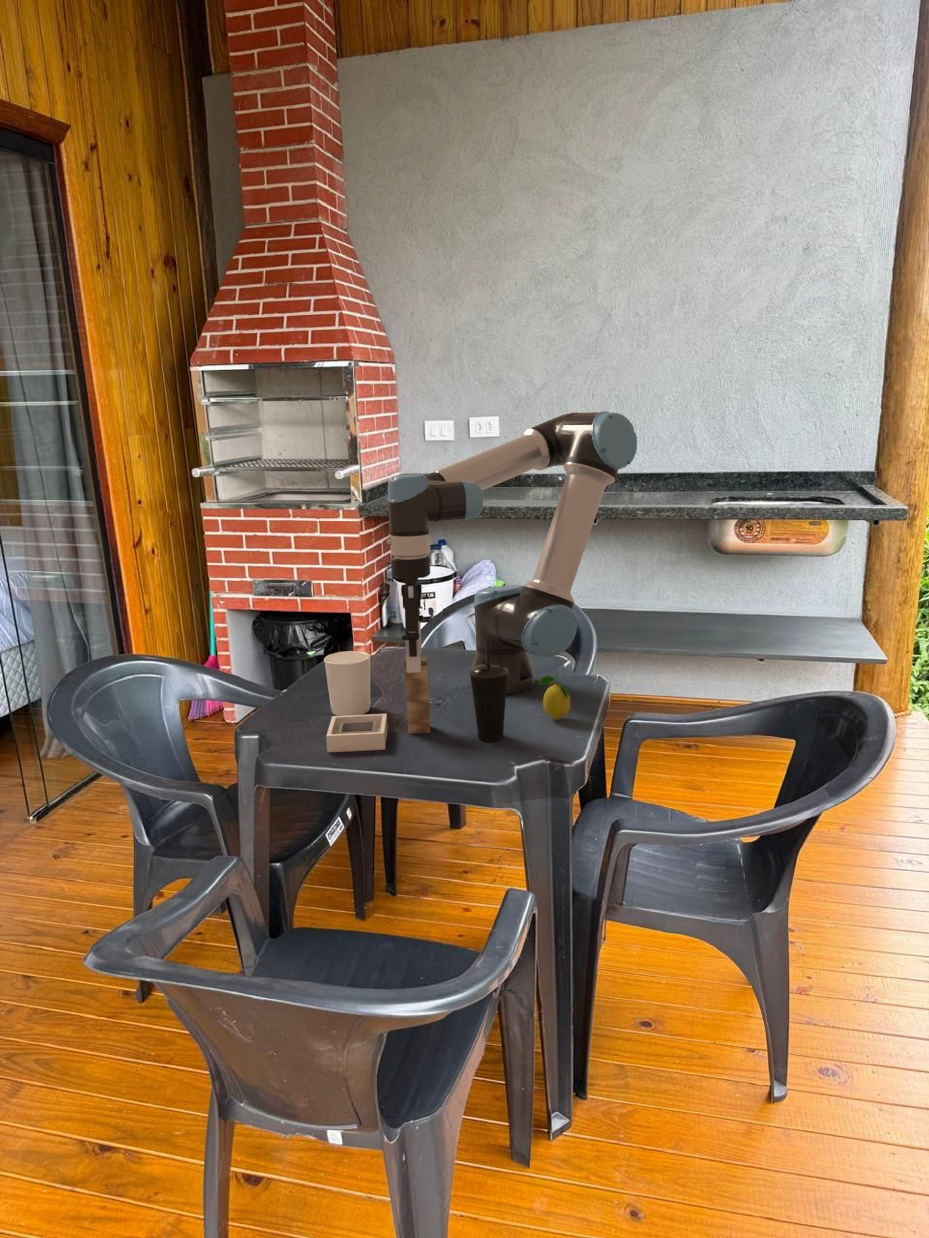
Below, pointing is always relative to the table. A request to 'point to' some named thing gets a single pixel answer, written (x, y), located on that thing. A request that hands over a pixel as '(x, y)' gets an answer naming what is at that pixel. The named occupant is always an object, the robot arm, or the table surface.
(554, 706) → the lemon
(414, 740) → the table surface
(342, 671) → the cream cup
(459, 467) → the robot arm
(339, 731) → the cream open tray
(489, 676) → the drinking cup
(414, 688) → the brown bar
